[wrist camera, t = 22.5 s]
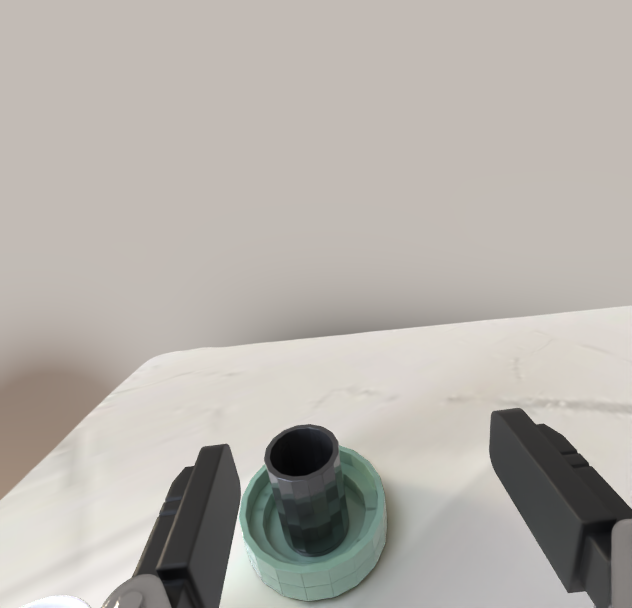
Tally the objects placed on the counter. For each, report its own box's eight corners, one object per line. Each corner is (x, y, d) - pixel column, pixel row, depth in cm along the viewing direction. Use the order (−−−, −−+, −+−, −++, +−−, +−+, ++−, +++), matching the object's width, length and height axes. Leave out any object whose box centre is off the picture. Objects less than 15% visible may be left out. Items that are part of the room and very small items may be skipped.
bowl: (348, 454, 42) (345, 427, 41) (416, 558, 31) (415, 525, 29) (238, 500, 38) (229, 472, 37) (267, 639, 27) (256, 606, 25)
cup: (333, 484, 38) (321, 415, 35) (361, 537, 32) (351, 461, 29) (275, 510, 36) (257, 440, 33) (294, 570, 30) (275, 493, 27)
